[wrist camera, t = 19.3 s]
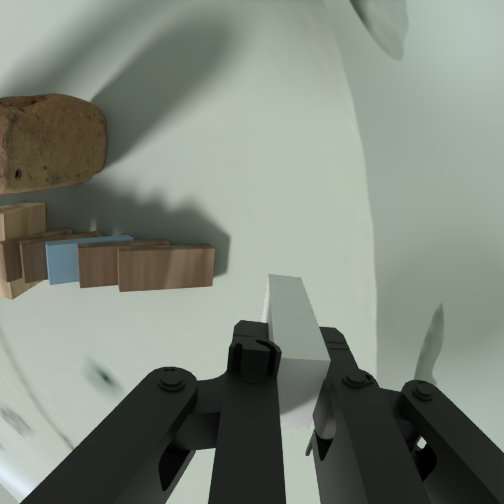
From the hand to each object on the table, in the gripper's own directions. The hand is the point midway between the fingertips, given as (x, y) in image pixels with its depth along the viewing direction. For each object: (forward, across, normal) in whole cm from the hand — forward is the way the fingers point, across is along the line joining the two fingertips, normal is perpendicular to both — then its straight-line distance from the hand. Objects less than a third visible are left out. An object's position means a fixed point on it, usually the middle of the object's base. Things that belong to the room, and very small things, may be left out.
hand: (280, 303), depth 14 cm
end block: (+26, -37, -7) cm, 46 cm away
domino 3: (+26, -18, -7) cm, 32 cm away
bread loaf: (+27, -26, +8) cm, 38 cm away
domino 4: (+26, -12, -7) cm, 29 cm away
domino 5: (+26, -6, -7) cm, 27 cm away
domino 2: (+26, -23, -7) cm, 35 cm away
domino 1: (+26, -29, -7) cm, 39 cm away
